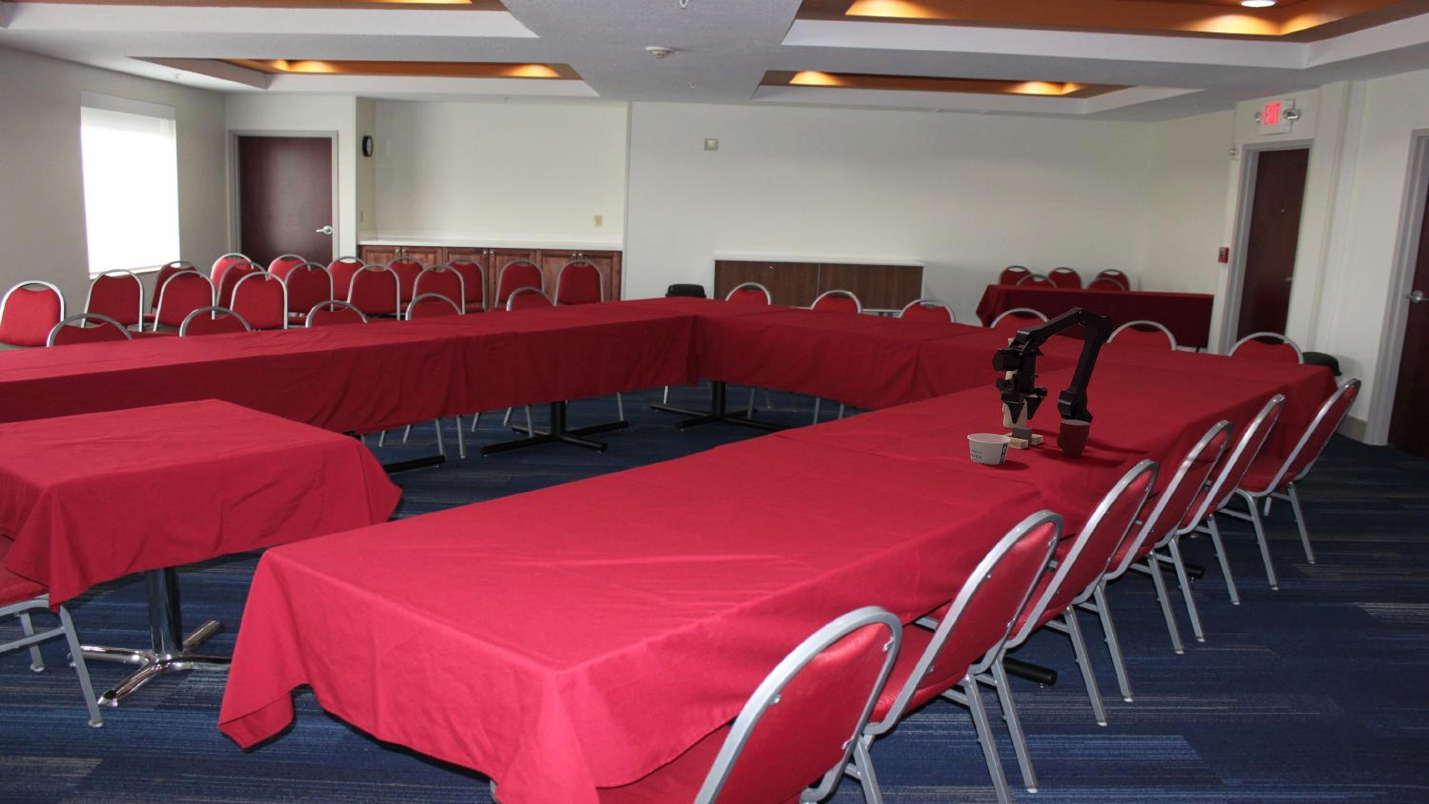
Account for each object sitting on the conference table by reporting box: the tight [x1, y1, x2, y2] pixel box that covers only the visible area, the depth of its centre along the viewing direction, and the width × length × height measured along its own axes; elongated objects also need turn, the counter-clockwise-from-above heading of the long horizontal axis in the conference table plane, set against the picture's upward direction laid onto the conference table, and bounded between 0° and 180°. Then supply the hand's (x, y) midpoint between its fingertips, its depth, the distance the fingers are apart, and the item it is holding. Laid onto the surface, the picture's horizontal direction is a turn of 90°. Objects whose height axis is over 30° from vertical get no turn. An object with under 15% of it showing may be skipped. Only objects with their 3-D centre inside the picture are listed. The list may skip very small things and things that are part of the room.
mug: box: [1056, 419, 1091, 459], centre depth 306 cm, size 10×8×10 cm
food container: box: [967, 433, 1011, 465], centre depth 301 cm, size 12×12×6 cm
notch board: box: [1002, 432, 1044, 450], centre depth 324 cm, size 14×9×2 cm, turn 136°
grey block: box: [1011, 426, 1033, 446], centre depth 323 cm, size 3×5×5 cm, turn 46°
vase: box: [1001, 337, 1028, 430], centre depth 344 cm, size 9×8×30 cm
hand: (1022, 421), depth 322 cm, fingers open, 9 cm apart
